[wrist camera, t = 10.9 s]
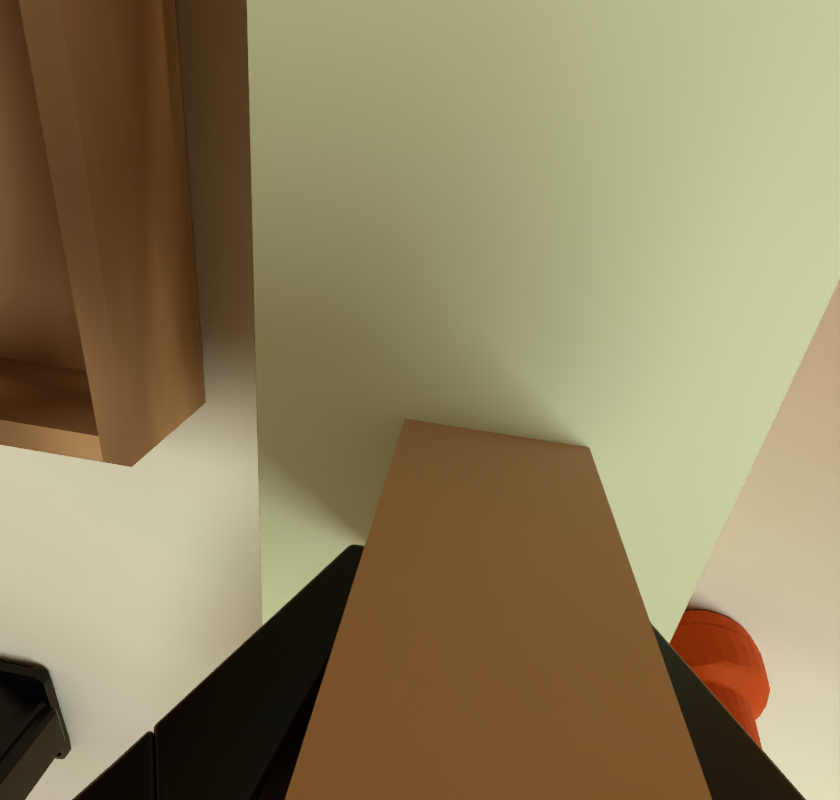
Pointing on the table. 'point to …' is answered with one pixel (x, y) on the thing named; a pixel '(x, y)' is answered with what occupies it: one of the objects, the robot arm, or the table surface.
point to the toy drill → (725, 664)
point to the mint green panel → (524, 360)
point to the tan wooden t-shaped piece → (94, 230)
